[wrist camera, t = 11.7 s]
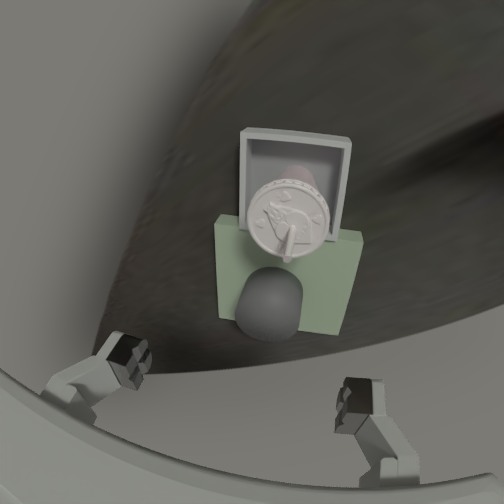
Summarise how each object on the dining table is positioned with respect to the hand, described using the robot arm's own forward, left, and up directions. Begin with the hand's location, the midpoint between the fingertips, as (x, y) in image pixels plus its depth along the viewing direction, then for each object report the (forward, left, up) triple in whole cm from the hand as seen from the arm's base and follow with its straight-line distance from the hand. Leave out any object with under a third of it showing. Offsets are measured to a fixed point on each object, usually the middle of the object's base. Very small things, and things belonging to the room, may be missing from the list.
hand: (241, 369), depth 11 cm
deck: (0, +7, -24) cm, 25 cm away
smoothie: (0, 0, -23) cm, 23 cm away
